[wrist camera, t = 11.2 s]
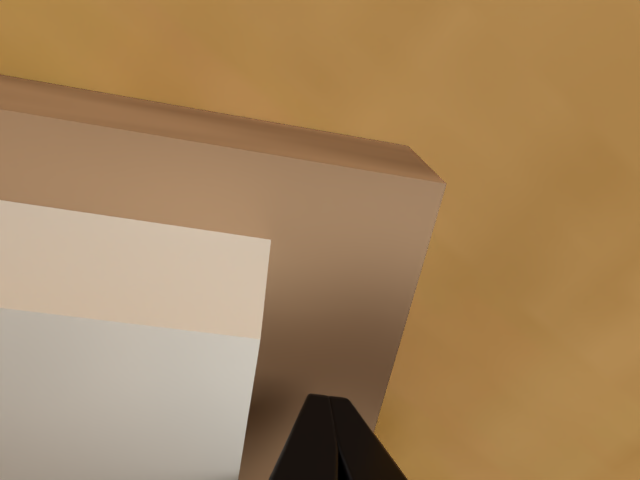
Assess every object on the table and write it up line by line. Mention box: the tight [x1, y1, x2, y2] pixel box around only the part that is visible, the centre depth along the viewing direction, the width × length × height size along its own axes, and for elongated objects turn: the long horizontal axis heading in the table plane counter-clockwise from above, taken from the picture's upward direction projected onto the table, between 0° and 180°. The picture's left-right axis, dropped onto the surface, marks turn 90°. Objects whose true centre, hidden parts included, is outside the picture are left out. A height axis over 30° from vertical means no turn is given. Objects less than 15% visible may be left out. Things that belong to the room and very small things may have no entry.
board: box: [0, 75, 446, 480], centre depth 11 cm, size 9×11×3 cm
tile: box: [0, 200, 271, 480], centre depth 8 cm, size 6×6×3 cm
